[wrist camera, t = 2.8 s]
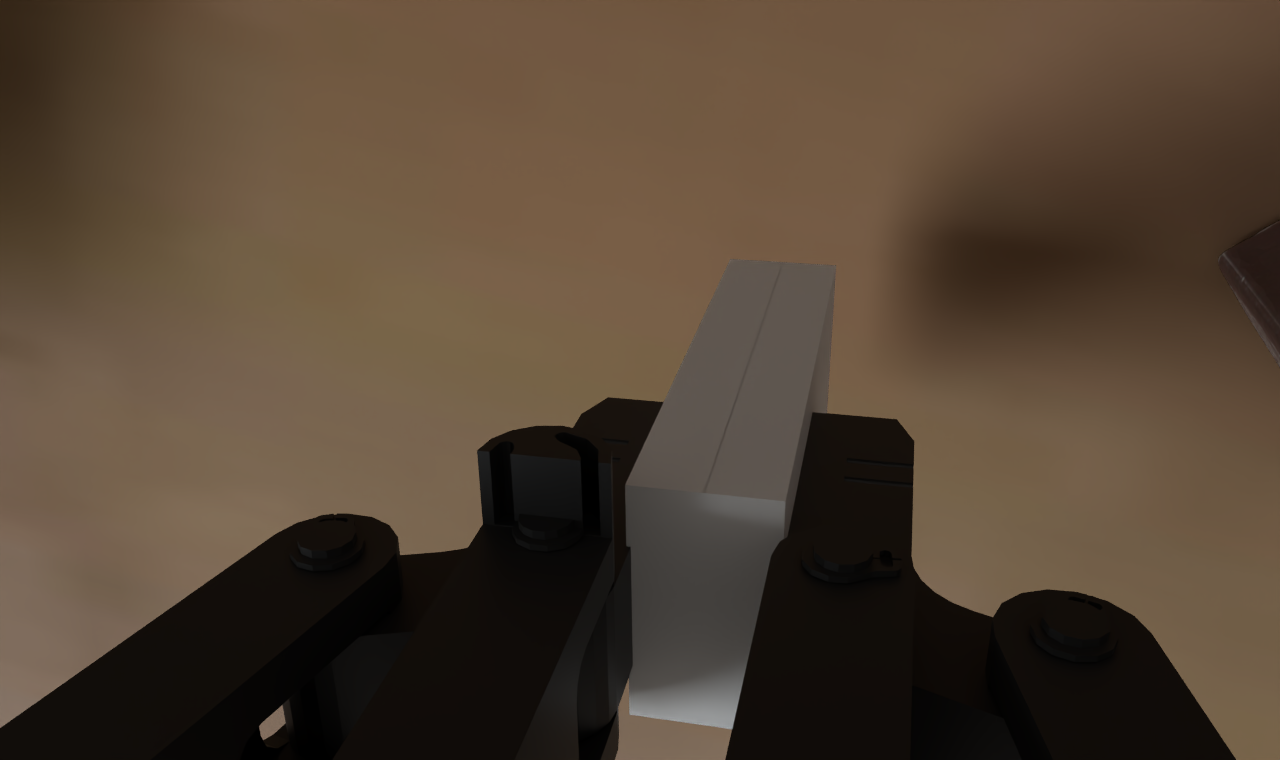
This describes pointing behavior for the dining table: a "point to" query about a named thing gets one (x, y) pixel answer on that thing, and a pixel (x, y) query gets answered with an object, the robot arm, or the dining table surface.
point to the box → (1258, 282)
